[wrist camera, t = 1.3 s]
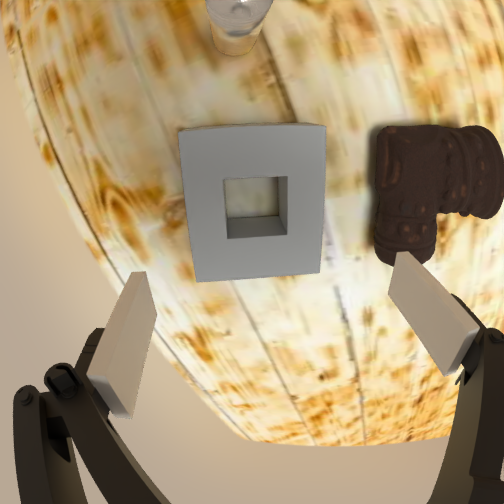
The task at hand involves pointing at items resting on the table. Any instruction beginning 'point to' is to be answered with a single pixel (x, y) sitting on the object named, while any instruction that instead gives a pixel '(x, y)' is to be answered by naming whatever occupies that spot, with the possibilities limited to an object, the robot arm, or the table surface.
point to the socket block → (254, 228)
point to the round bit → (236, 23)
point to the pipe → (432, 184)
